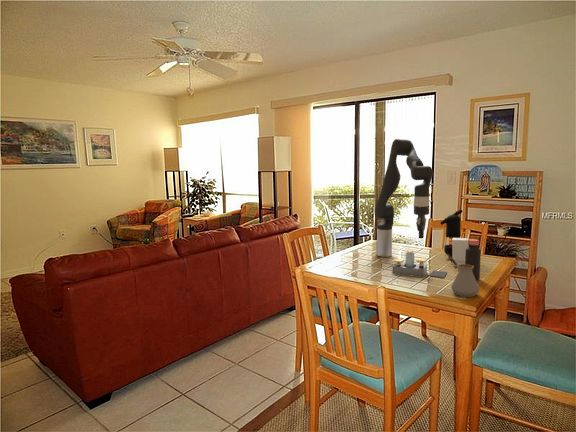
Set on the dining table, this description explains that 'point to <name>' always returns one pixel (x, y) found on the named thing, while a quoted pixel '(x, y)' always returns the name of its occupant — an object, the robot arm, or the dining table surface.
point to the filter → (452, 229)
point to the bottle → (473, 257)
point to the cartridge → (409, 259)
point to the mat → (438, 274)
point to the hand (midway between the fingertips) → (421, 238)
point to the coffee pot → (464, 280)
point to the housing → (409, 270)
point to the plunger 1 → (398, 261)
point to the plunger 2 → (421, 262)
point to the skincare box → (459, 250)
